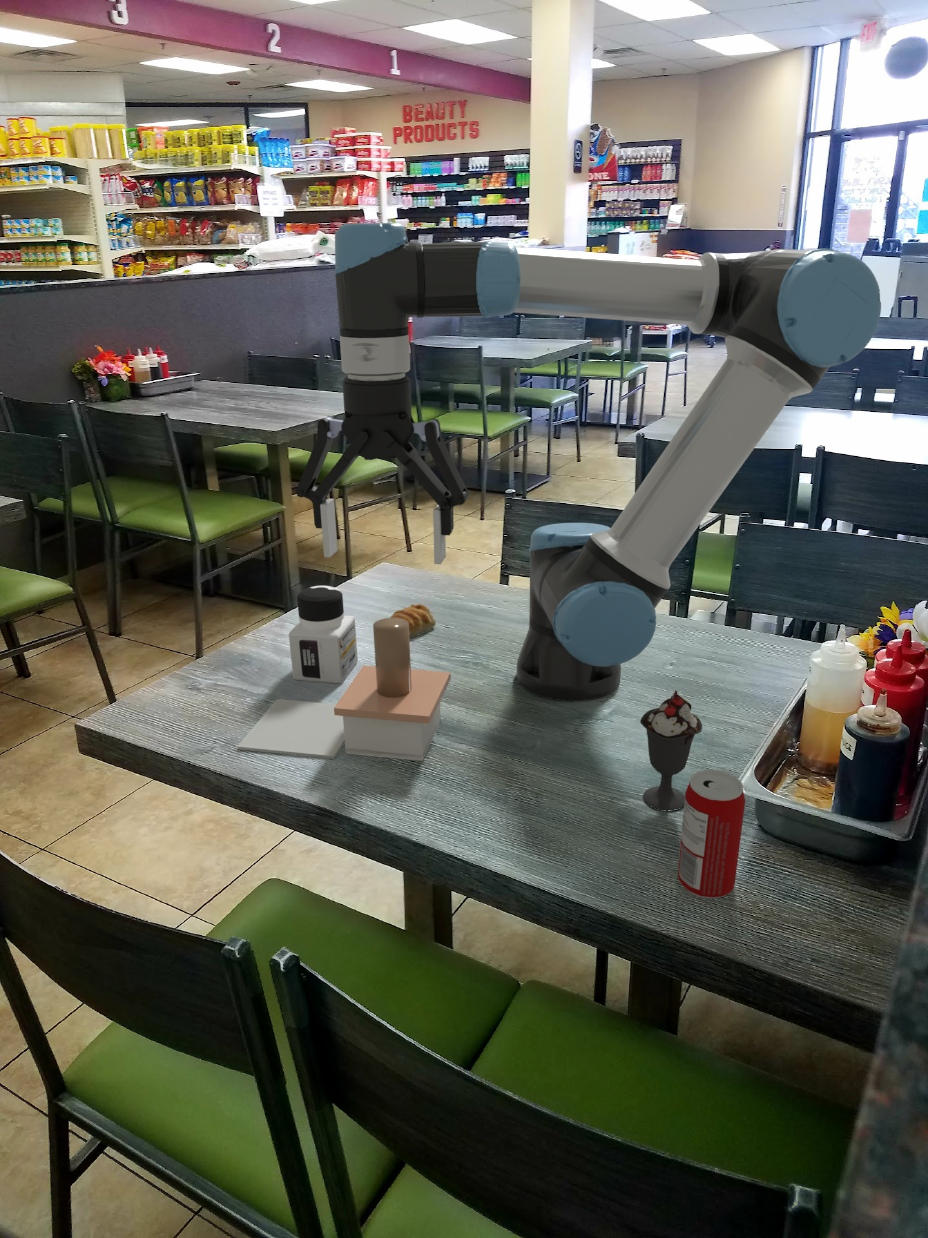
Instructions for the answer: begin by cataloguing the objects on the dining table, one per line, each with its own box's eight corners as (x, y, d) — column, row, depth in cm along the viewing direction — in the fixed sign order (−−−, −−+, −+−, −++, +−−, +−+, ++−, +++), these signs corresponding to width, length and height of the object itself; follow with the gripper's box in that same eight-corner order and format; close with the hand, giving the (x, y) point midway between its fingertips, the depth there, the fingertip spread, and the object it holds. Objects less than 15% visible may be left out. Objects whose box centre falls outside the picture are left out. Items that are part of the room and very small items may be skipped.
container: (342, 684, 132) (335, 602, 127) (292, 680, 133) (284, 598, 128) (358, 661, 139) (353, 582, 133) (310, 658, 140) (303, 579, 135)
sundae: (657, 822, 100) (667, 702, 94) (624, 791, 105) (631, 676, 99) (706, 807, 102) (719, 690, 96) (671, 778, 108) (681, 665, 102)
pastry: (400, 647, 144) (399, 625, 142) (370, 637, 148) (369, 615, 146) (439, 628, 150) (438, 607, 149) (409, 619, 154) (408, 598, 153)
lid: (450, 679, 119) (449, 609, 115) (429, 723, 109) (426, 648, 105) (363, 672, 122) (359, 603, 118) (334, 715, 111) (328, 641, 107)
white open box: (440, 721, 121) (439, 681, 119) (422, 761, 112) (420, 718, 110) (369, 715, 123) (366, 675, 121) (345, 753, 114) (342, 711, 112)
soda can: (742, 879, 91) (756, 777, 86) (720, 909, 87) (733, 804, 82) (691, 858, 94) (701, 759, 89) (667, 886, 90) (677, 784, 85)
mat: (365, 709, 125) (365, 706, 124) (334, 759, 113) (334, 756, 113) (277, 701, 127) (276, 699, 127) (237, 749, 115) (237, 746, 115)
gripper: (256, 377, 99) (274, 561, 107) (480, 382, 94) (481, 574, 102) (283, 368, 105) (298, 541, 114) (493, 372, 101) (493, 553, 109)
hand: (384, 557), depth 108 cm, fingers open, 13 cm apart
